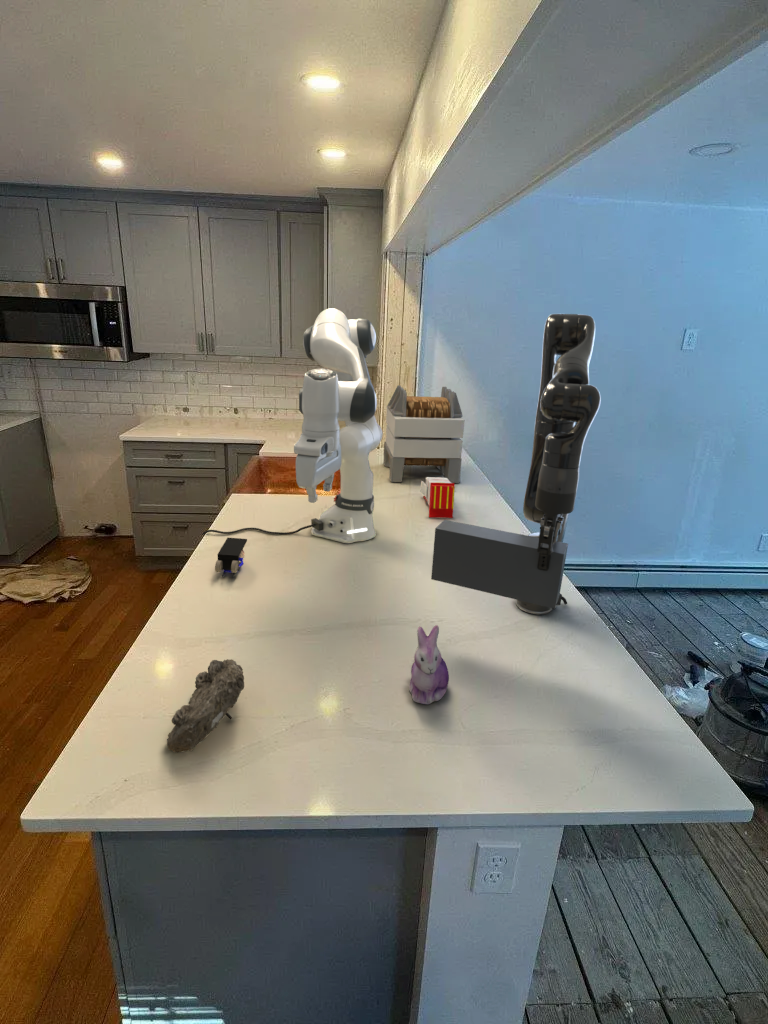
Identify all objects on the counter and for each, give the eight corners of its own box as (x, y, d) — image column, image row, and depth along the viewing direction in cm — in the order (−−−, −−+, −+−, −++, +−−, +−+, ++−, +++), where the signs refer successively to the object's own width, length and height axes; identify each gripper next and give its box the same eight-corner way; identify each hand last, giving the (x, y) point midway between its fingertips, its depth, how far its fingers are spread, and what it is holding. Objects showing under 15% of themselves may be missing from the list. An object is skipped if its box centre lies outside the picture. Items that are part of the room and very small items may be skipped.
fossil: (192, 660, 117) (244, 628, 112) (224, 691, 120) (276, 661, 115) (142, 746, 98) (202, 712, 93) (182, 779, 101) (242, 748, 96)
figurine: (421, 712, 112) (426, 647, 106) (396, 683, 120) (400, 621, 115) (461, 699, 116) (467, 636, 111) (434, 672, 124) (439, 611, 119)
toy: (448, 473, 241) (459, 484, 212) (446, 504, 244) (457, 519, 215) (419, 472, 241) (426, 483, 211) (418, 503, 243) (425, 518, 214)
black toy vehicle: (238, 584, 162) (249, 557, 175) (236, 562, 158) (247, 536, 172) (215, 584, 161) (227, 556, 175) (212, 561, 158) (225, 535, 171)
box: (431, 579, 126) (435, 528, 122) (440, 568, 132) (444, 519, 127) (555, 608, 116) (564, 554, 112) (559, 596, 122) (568, 543, 117)
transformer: (382, 463, 289) (386, 382, 275) (445, 464, 293) (451, 384, 279) (390, 482, 257) (394, 392, 243) (460, 483, 261) (468, 394, 247)
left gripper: (324, 431, 144) (324, 483, 149) (290, 448, 125) (291, 507, 130) (348, 433, 142) (346, 486, 147) (316, 451, 124) (316, 510, 128)
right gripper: (572, 499, 104) (559, 581, 110) (581, 480, 117) (568, 554, 122) (531, 492, 107) (520, 573, 113) (544, 474, 119) (533, 547, 125)
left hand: (320, 496), depth 138 cm, fingers open, 8 cm apart
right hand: (545, 563), depth 117 cm, fingers closed on box, 6 cm apart
